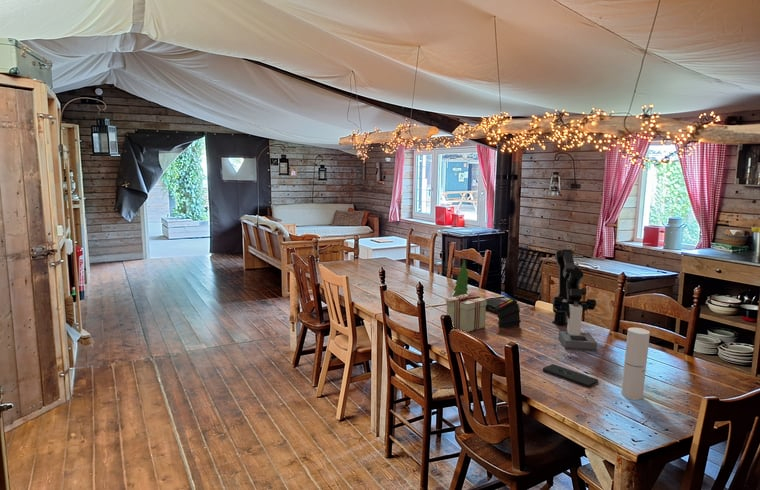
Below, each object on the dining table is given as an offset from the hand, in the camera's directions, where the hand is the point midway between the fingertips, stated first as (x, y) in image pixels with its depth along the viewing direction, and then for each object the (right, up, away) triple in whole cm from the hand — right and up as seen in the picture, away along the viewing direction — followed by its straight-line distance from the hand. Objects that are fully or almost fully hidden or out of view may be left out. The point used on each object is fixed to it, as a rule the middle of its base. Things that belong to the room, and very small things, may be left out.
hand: (575, 319), depth 234 cm
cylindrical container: (+3, -22, -47) cm, 52 cm away
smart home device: (-14, -19, -31) cm, 39 cm away
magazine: (-24, -9, +29) cm, 39 cm away
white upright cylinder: (0, -7, +2) cm, 7 cm away
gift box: (-48, -8, +29) cm, 56 cm away
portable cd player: (-21, -4, +63) cm, 67 cm away
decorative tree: (-44, -3, +59) cm, 74 cm away
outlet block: (+3, -13, +5) cm, 14 cm away
